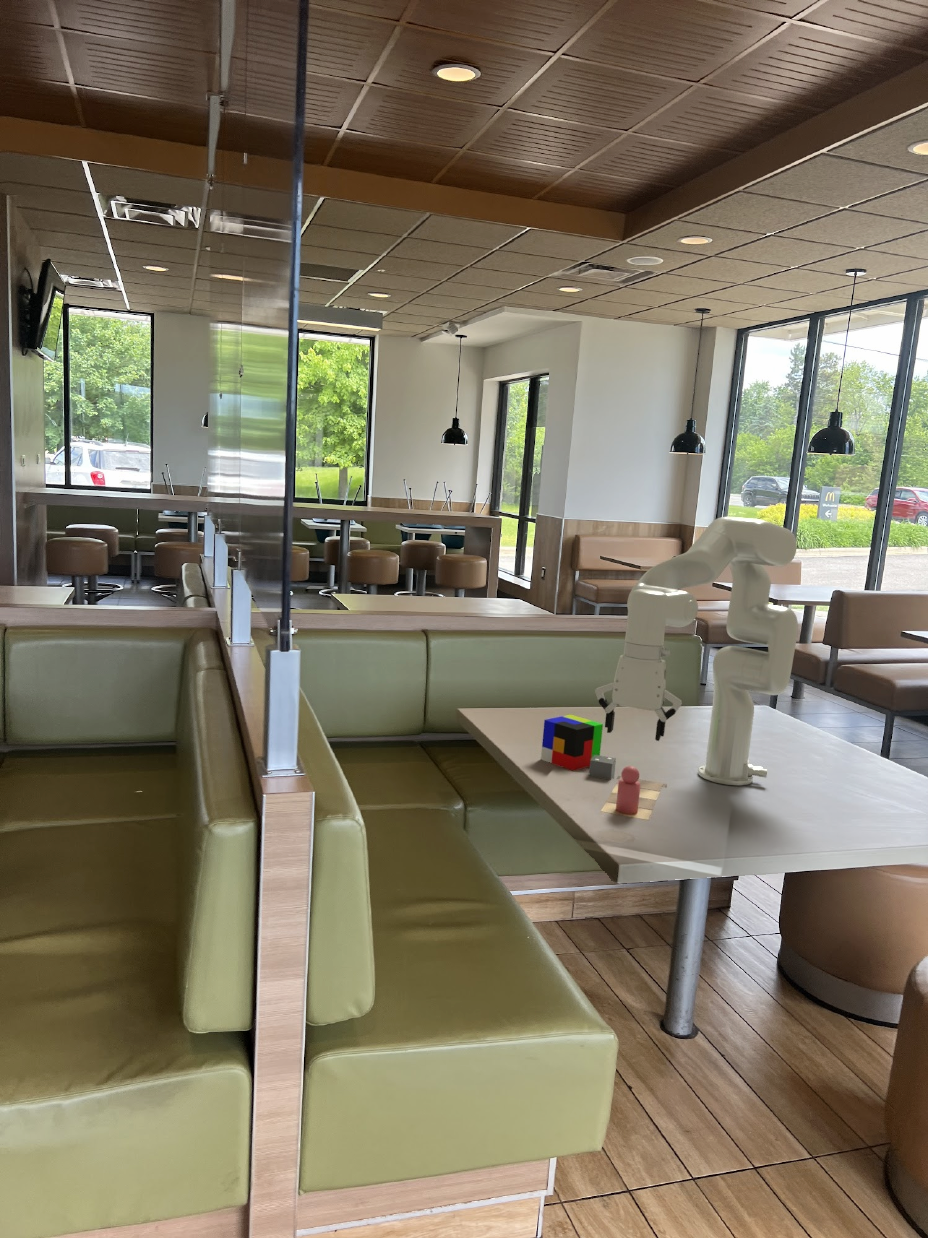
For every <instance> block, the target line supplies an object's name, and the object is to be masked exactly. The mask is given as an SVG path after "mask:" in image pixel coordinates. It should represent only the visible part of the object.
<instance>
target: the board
mask: <svg viewBox="0 0 928 1238" xmlns="http://www.w3.org/2000/svg"><path fill="white" fill-rule="evenodd" d="M621 779H622V776H621V775H618V776H617V777H616V780H617V782H616V784H615V786H614V787H613V789H612V791H611V793H610V795H609V796H608V797H607V800H606V802H605V803H604V804H603V807H602V808H601V810H600V813H607V814H613V815H616V816H617V815H618V816H624V817H629V818H634V819H639V820H645V821H650V820H649V819H650V818H651V815H652V812H653V810H654V808H655V806H656V802H657V800H658V798H659V795H660V792H661V791H662V789H663V788H667V787H668V786H667V783H663V782H657V781H651V780H646V779H640V778H639V779H638V782H639V783H640V784H641V785H640V794H639V804H638V813H637V814H634V815H626V814H622V813H619V812H617V811H616V802H617V793H618V783H619V780H621Z"/></svg>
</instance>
